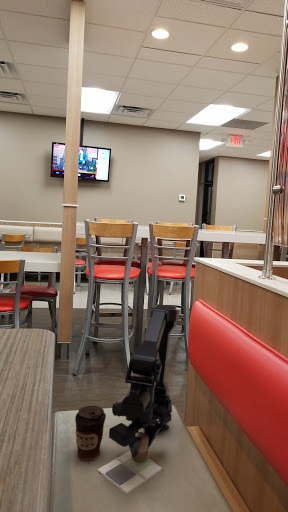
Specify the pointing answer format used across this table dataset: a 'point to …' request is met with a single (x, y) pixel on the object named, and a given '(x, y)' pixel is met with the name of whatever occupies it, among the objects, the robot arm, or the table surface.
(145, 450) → the brown tapered cylinder
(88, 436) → the coffee cup
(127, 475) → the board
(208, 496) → the table surface
